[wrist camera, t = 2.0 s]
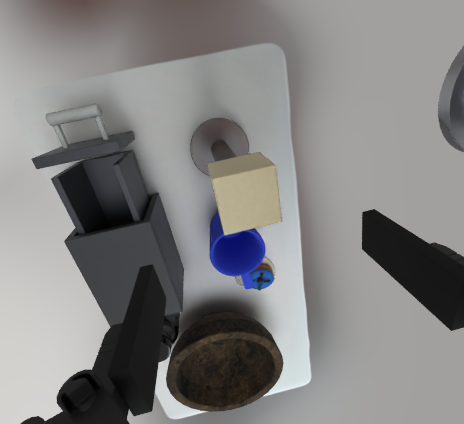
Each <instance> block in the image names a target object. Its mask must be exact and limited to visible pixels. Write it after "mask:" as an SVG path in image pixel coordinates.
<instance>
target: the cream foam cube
mask: <svg viewBox="0 0 464 424" xmlns="http://www.w3.org/2000/svg"><path fill="white" fill-rule="evenodd" d="M208 169H209V173H210V177H211V182H212V186H213V190H214V195H215V199H216V203H217V208H218V212H219V216H220V220H221V224H222V228H223V232H224V235H228V234H232V233H237V232H241V231H245V230H249V229H253V228H258V227H262V226H266V225H270V224H274V223H278V222H282V216H281V208H280V199H279V191H278V182H277V174H276V166H275V164H274V163H272V162H271V161H270V160H269V159H267V158H266V157H265V156H264V155H263V154H261V153H260V152H257V153H253V154H248V155H244V156H239V157H235V158H230V159H226V160H221V161H217V162H212V163H208Z"/></svg>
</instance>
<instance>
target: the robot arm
mask: <svg viewBox="0 0 464 424" xmlns="http://www.w3.org/2000/svg"><path fill="white" fill-rule="evenodd" d="M362 216H363V217H362V249H363V250H364V251H365V252H366V253H367V254H368V255H369V256H370V257H371V258H372V259H374V260H375V261H376V262H377V263H378V264H379V265H380V266H381V267H382V268H384V270H385V271H387V272H388V273H389V274H390V275H391V276H392V277H393V278H394V279H395V280H396V281H398V282H399V283H400V284H401V285H402V286H403V287H404V288H405V289H406V290H407V291H408V292H409V293H411V294H412V295H413V296H414V297H415V298H416V299H417V300H418V301H419V302H420V303H421V304H423V305H424V306H425V307H426V308H427V309H428V310H429V311H430V312H431V313H432V314H433V315H435V316H436V317H437V318H438V319H439V320H440V321H441V322H442V323H443V324H444V325H446V326H447V327H448V328H449V329H450V330H451V331H452V330H456V329H460V328H463V327H464V257H463V256H461V255H460V254H457V253H456V252H455V251H453V250H451V249H450V248H448V247H446V246H443V245H440V244H437V243H431V244H429V243H427V242H425V241H424V240H422V239H421V238H419V237H417V236H416V235H414V234H413V233H411V232H409V231H408V230H406V229H405V228H403V227H402V226H400V225H398V224H397V223H395V222H394V221H392V220H391V219H389V218H387V217H386V216H384V215H382V214H381V213H380V212H378V211H376V210H375V209H373V210H369V211H365V212H363V215H362ZM166 300H167V298H166V295H165V293H164V290H163V288H162V286H161V283H160V281H159V278H158V276H157V273H156V271H155V268H154V266H153V264H151V265H147V266H142V267H140V269H139V272H138V276H137V279H136V282H135V285H134V289H133V292H132V295H131V298H130V302H129V305H128V308H127V311H126V315H125V318H124V321H123V323H119V324H115V325H112V326H111V328H110V329H109V330H108V332H107V333H106V334H105V336H104V339H103V342H102V344H101V347H100V350H99V352H98V355H97V358H96V361H95V363H94V366H93V369H92V370H83V371H80V372H78V373H76V374H74V375H73V376H71V377H70V378H69V379H68V380H67V381H66V382H65V383H64V384H63V386H62V387H61V389H60V390H59V393H58V396H57V404H58V405H59V406H60V408H61V409H62V410H63V412H61V413H59V414H57V415H56V416H54V417H52V418H50V419H48V420H47V421H44V420H43V419H42V418H40V417H39V416H37V417H31V418H29V419H27V420H25V421H23V422H22V423H21V424H129V422H128V421H127V415H128V411H129V409H130V411H131V412H132V414H133V416H136V415H140V414H144V413H148V412H151V411H152V409H153V401H154V393H155V385H156V378H157V370H158V362H159V354H160V347H161V339H162V331H163V323H164V316H165V308H166Z"/></svg>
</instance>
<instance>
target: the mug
mask: <svg viewBox="0 0 464 424" xmlns="http://www.w3.org/2000/svg"><path fill="white" fill-rule="evenodd" d="M264 256H265V244H264V241H263V239H262V238H261V236H260V235H259V233H258V232H257V230H256V229H255V228H253V229H249V230H245V231H241V232H237V233H232V234H228V235H224V232H223V228H222V224H221V220H220V216H219V212H218V213H217V214H216V215H215V216H214V217H213V219H212V221H211V224H210V259H211V262H212V264H213V266H214V267H215V268H216V269H217V270H218V271H219V272H221V273H223V274H225V275H228V276H241V277H242V281H243V284H244V287H245V289H251V288H253V287H254V284H253V281H252V278H251V275H250V272H252V271H253V270H255V269H256V268H257V267H258V266H259V265H260V264H261V262H262V261H263V258H264Z"/></svg>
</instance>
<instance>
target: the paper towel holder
mask: <svg viewBox="0 0 464 424" xmlns="http://www.w3.org/2000/svg"><path fill="white" fill-rule="evenodd" d="M248 151H249V145H248V140H247V137H246V135H245V133H244V131H243V130H242V129H241V128H240V127H239V126H238V125H237V124H236V123H234V122H232V121H230V120H228V119H224V118H215V119H211V120H208V121H206V122H204V123H203V124H201V125H200V126H199V127H198V128H197V129H196V131H195V132H194V134H193V137H192V140H191V156H192V159H193V161H194V163H195V165H196V166H197V167H198V169H199V170H200V171H202V172H203V173H205V174H206V175H208V176H210V173H209V169H208V163H212V162H217V161H221V160H226V159H230V158H235V157H239V156H244V155H248Z"/></svg>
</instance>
